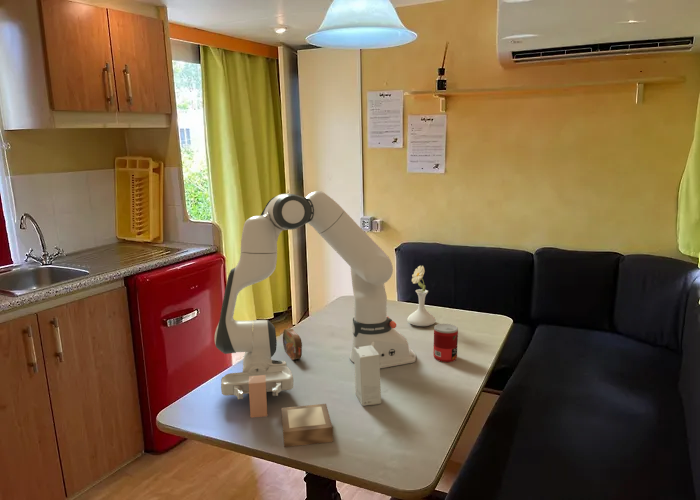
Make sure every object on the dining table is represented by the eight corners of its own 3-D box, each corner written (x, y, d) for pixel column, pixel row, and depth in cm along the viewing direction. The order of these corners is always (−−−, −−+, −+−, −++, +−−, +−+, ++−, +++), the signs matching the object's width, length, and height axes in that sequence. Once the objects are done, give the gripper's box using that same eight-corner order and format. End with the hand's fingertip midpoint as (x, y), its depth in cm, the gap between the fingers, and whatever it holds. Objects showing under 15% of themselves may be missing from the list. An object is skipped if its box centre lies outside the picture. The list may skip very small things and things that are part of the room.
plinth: (326, 417, 143) (326, 403, 142) (332, 441, 131) (332, 426, 130) (281, 421, 141) (281, 407, 140) (284, 447, 129) (283, 431, 128)
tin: (282, 348, 190) (281, 326, 189) (290, 346, 191) (290, 324, 190) (295, 364, 177) (294, 340, 175) (304, 362, 178) (303, 338, 176)
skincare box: (381, 404, 149) (381, 355, 146) (360, 407, 148) (360, 357, 145) (373, 390, 157) (373, 344, 154) (353, 393, 156) (353, 346, 153)
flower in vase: (407, 318, 219) (408, 260, 214) (435, 319, 218) (436, 260, 213) (406, 329, 207) (407, 267, 202) (435, 330, 205) (437, 268, 200)
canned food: (456, 363, 176) (458, 332, 173) (432, 361, 177) (433, 330, 175) (457, 354, 183) (458, 324, 181) (433, 352, 185) (434, 322, 182)
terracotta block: (266, 408, 148) (265, 374, 146) (267, 416, 144) (265, 382, 142) (250, 409, 147) (248, 376, 145) (250, 417, 143) (248, 383, 141)
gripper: (221, 366, 155) (217, 387, 141) (291, 360, 158) (294, 381, 145) (222, 386, 156) (219, 409, 143) (291, 380, 159) (295, 402, 146)
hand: (257, 395), depth 144 cm, fingers open, 8 cm apart
